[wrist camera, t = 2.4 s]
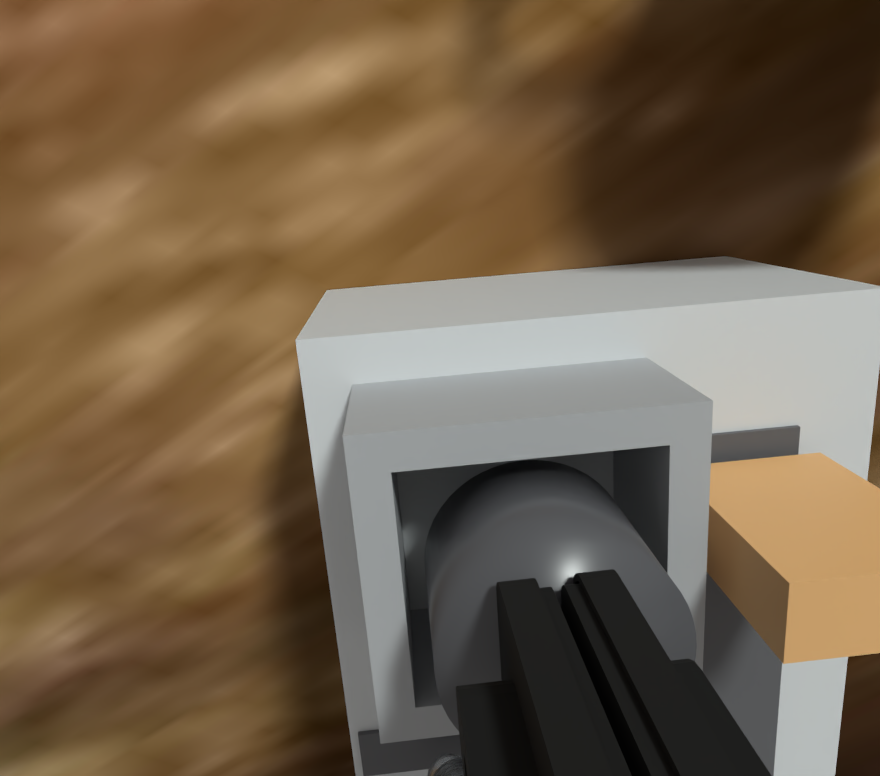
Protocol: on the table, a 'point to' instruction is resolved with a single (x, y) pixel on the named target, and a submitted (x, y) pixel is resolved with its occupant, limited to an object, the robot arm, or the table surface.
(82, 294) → the table surface
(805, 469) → the tan rectangular prism
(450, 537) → the dark gray button
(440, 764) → the toggle lever
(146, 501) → the table surface
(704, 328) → the console
